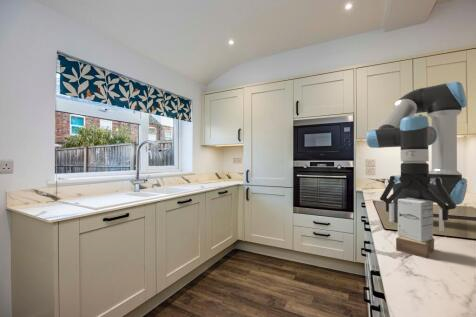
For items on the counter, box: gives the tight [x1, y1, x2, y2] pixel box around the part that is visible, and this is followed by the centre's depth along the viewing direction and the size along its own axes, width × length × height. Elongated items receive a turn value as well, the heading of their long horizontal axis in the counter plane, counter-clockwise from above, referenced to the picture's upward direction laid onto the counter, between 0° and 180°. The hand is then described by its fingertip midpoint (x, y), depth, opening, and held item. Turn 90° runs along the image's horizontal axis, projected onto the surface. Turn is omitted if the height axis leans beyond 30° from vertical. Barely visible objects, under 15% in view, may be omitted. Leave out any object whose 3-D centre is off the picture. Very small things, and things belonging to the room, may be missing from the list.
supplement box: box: [397, 198, 434, 242], centre depth 77 cm, size 7×7×13 cm
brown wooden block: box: [395, 236, 435, 259], centre depth 77 cm, size 10×8×4 cm
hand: (414, 225), depth 77 cm, fingers open, 13 cm apart
